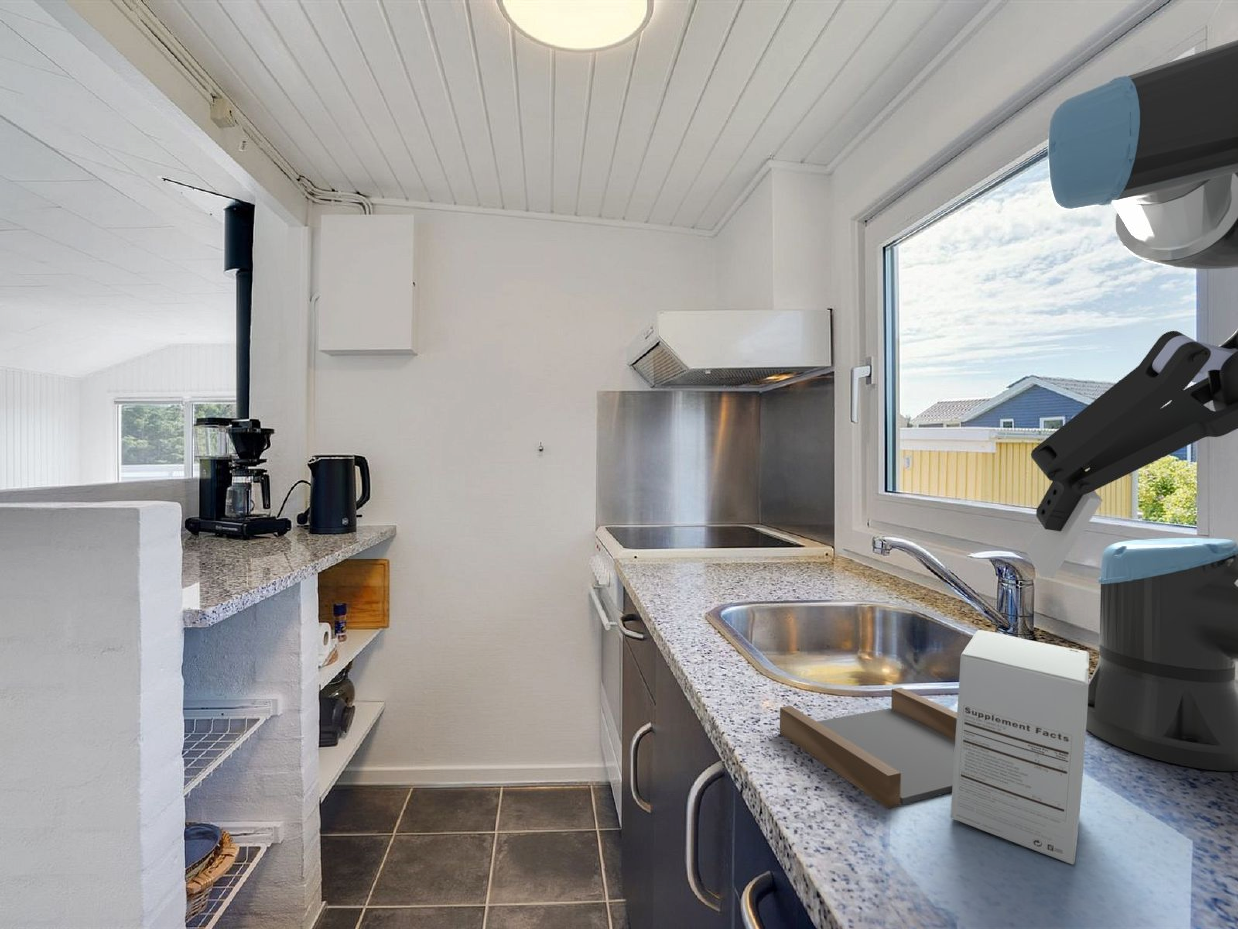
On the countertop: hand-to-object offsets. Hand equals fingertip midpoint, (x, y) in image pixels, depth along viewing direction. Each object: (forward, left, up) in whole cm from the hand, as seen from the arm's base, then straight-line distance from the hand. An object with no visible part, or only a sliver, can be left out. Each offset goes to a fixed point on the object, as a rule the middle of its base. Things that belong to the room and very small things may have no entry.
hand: (1144, 581), depth 40 cm
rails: (-4, -25, -24) cm, 35 cm away
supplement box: (-4, -12, -24) cm, 27 cm away
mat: (-4, -25, -24) cm, 35 cm away
